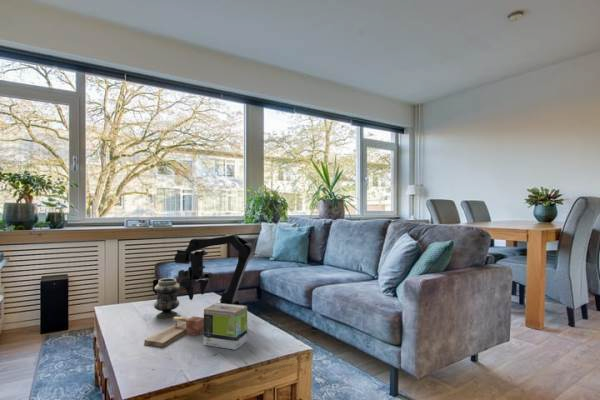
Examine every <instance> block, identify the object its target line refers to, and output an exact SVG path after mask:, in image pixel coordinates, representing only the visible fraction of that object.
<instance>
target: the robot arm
mask: <svg viewBox="0 0 600 400" xmlns="http://www.w3.org/2000/svg"><path fill="white" fill-rule="evenodd" d="M226 244H227V245H228V244H231V245H232V247H234V249H235V250H236V251H237V252H238V254H237V258H238V261H237V263H236V267H235V269H234V272H233V275H232V278H231V280H230V283H229V286H228V289H225V290H224V291H223V292H222V293H221V297H220V299H219V301H220V302H219V303H223V304H233V305H242V304H241V303H240V301H239V300H238V296H239V295H238V294H239V288H240V285H241V281H242V279H243V277H244V274H245V271H246V269H247V265H248V263H249V261H250V260H251V259H252V257H253V256H254V254H255V252H256V247H255V245H254V244H253V243H251V242H249V241H247V240H245V239H244V238H243V237H240V236H239V235H238V234H230V235H226V236H225V235H224V236H217V237H211V238H210V237H197V238H196V237H195V238H192V239H190V241H189V243H188V246H187V247H186V249H177V250H176V252H175V255H174V257H173V258H174V262H175V264H179V265H189V264H190V266H188V268H187V270H184V269H182V270H179V271H178V273H177V277H178V278H180V281H179V286H180V287H182V288H184V289H185V290H186V292H187V295H188V299H189V300H191V301H192V300H193V298H194V295H195V292H196V288H197V285H196V284H197V282H199V289H200V295H204V294H205V292H206V290H207V288H208V286H209V284H210V282H211V281H212V280H211V279H213V273H212V272H209V271H208V272H207V271H204V269H206V266H205V265H204V256H206V255H208V254H209V253H208V252H207V251H205V249H206V248H208V247H209V248H210V247H215V246H222V245H226ZM199 250H201V251H199Z"/></svg>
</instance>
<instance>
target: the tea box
mask: <svg viewBox="0 0 600 400" xmlns="http://www.w3.org/2000/svg"><path fill="white" fill-rule="evenodd" d="M203 318H204V332H203V345H204V346H209V347H210V346H211V347H215V348H216V347H217V348H222V349H228V350H238V349H239V348H240V347H242V345H244V344H245V343H247V342H248V305H243V304H241V305H233V304H223V303H220V302H216V303H214V304H212V305H210V306H208V307H206V308H204V309H203Z"/></svg>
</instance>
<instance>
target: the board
mask: <svg viewBox="0 0 600 400" xmlns="http://www.w3.org/2000/svg"><path fill="white" fill-rule="evenodd" d="M184 335H187V334H186V322H181V321H177V326H176V322H175V323H174V324H171V325H170V326H168V327H166V328H164V329H162V330H161V331H159V332H156V333H155V334H153V335H151V336H149V337H147V338H145V339H143V340H144V342H143V343H144V345H145V346H152V347H153V346H154V347H159V348H165V347H166V346H168V345H169V344H171V343H173V342H174V341H176V340H177V339H180V338H181V337H182V336H184Z"/></svg>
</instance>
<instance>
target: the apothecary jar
mask: <svg viewBox="0 0 600 400" xmlns="http://www.w3.org/2000/svg"><path fill="white" fill-rule="evenodd" d="M180 288H181V286H180V283H178V282H177V279H176V278H174V277H166V278H165V277H164V278H160V279H159V280H158V283H157V284H156V285H155V286H154V291H155V292H156V301H155V302H154V303H153V307H154V309H155V310H157V311H160V312H159V313H157V314H156V315H155V316H156V318H158V319H169V318H170V319H171V318H174V317H177V315H178V312H176V311H174V310H175V309H177V308H178V307H179V306H180V300H179V299H178V290H180Z"/></svg>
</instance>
